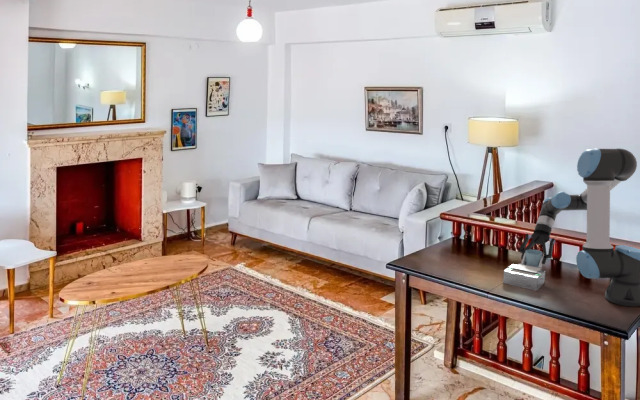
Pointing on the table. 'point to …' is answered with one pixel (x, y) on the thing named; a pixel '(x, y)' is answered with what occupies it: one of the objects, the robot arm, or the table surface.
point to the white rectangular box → (524, 279)
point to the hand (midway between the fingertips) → (530, 267)
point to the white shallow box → (526, 269)
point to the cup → (533, 257)
